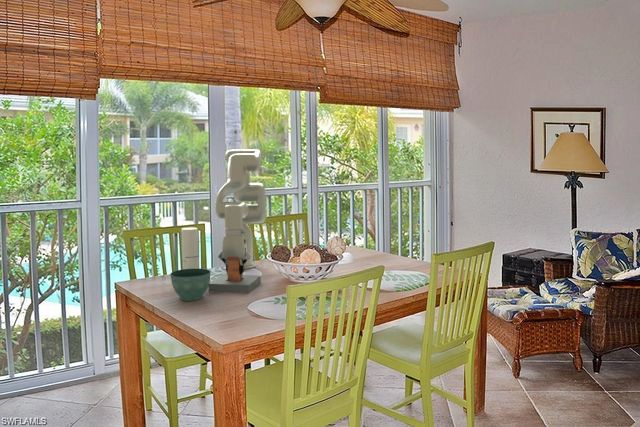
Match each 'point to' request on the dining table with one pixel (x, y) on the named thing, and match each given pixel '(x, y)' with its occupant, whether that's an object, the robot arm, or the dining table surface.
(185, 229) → the cylindrical container
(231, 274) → the peg
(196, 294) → the green bowl
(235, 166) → the robot arm
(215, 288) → the socket block
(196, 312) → the dining table surface
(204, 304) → the dining table surface
